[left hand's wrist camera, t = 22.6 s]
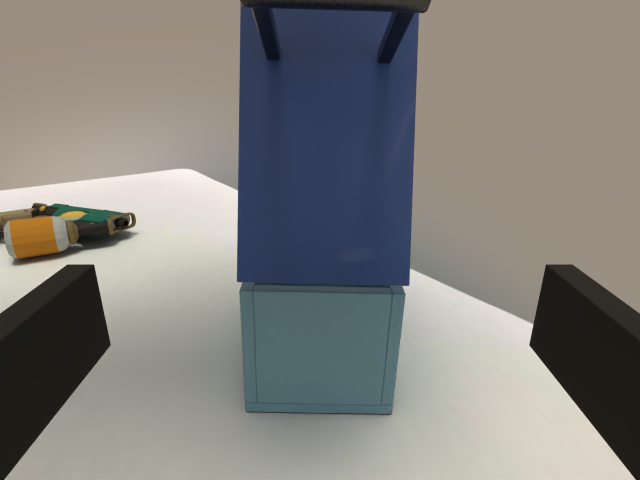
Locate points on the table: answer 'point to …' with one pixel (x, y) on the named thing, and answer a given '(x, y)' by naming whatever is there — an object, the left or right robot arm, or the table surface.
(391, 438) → the table surface
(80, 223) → the spray gun
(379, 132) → the lid
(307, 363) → the chest
